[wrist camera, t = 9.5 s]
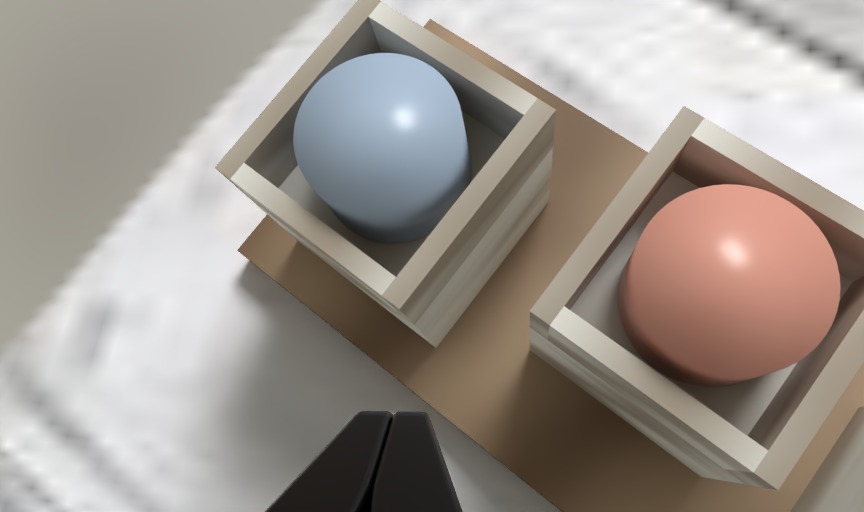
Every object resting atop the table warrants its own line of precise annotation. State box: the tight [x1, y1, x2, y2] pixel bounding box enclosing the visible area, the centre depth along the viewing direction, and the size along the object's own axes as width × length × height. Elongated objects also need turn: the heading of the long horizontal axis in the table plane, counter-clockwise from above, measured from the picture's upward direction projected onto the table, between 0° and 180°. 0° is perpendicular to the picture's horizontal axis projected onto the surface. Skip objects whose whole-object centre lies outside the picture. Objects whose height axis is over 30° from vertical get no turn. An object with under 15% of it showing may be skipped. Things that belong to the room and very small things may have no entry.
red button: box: [618, 184, 840, 387], centre depth 15 cm, size 4×4×2 cm
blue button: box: [293, 53, 472, 243], centre depth 16 cm, size 4×4×2 cm
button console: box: [215, 0, 864, 512], centre depth 17 cm, size 24×10×7 cm, turn 52°
